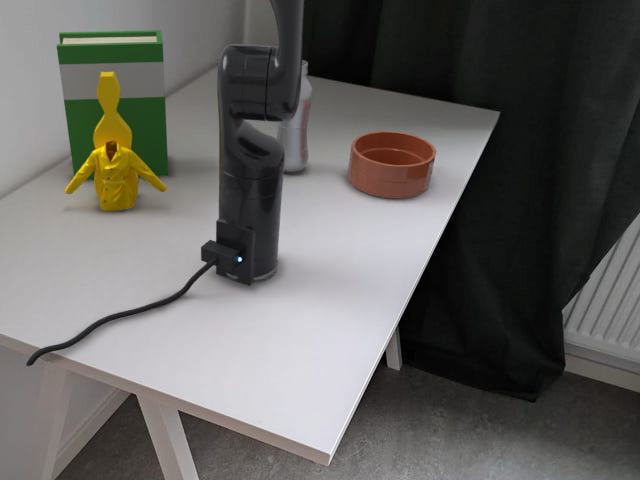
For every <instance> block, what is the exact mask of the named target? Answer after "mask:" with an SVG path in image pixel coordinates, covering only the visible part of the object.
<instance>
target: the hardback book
mask: <svg viewBox="0 0 640 480" xmlns="http://www.w3.org/2000/svg"><path fill="white" fill-rule="evenodd" d="M58 37H59V38H58V39H59V43H58V44H56V52H57V59H58V67H59V75H60V81H61V82H60V83H61V88H62V89H61V90H62V97H63V105H64V110H65V111H64V112H65V118H66V126H67V133H68V134H67V135H68V141H69V148H70V156H71V163H72V170H73V177H74V176H75V175H76V174H77V172H78V171H79V170H80V168H81V167H82V166H83V165H84V164H85V162H86V161H87V159H88V158H89V156H90V155H91V153H92V151H94V150H95V145H94V141H93V136H94V132H95V128H96V127H97V125H98V123H99V122H100V120H101V119H102V117H103V116H104V114H105V113H104V110H103V108H102V106H101V104H100V102H99V100H98V97H97V87H98V83H99V79H100V75H101V72H114V73H115V75H116V77H117V80H118V82H119V85H120V89H121V92H120V98H119V103H118V106H117V112H118V114H119V115H120V116H121V118H122V119H123V120H124V121H125V122H126V124H127V125H128V126H129V127H130V129H131V132H132V143H131V150H132V151H133V152H134V153H135V154H136V155H137V156H138V157H139V158H140V159H141V160H142V161H143V162H144V163H145V164H146V165H147V166H148V167H149V168H150V170H151V171H152V172H153V173H154V174H155V175H156V176H157V177H161V176H164V177H165V176H169V157H168V134H167V133H168V132H167V131H168V130H167V110H166V89H165V88H166V87H165V84H166V83H165V63H164V43H163V36H162V30H161V29H155V30H154V29H153V30H152V29H151V30H150V29H149V30H110V31H109V30H108V31H66V32H65V31H64V32H63V31H62V32H58ZM95 171H96V169H95V170H94V171H93V172H92V174H91V175H90V176H89V177H88V178H87V179H88V180H89V179H94V177H95ZM138 177H141V176H140V175H139V174H138ZM87 179H86V180H87Z"/></svg>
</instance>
